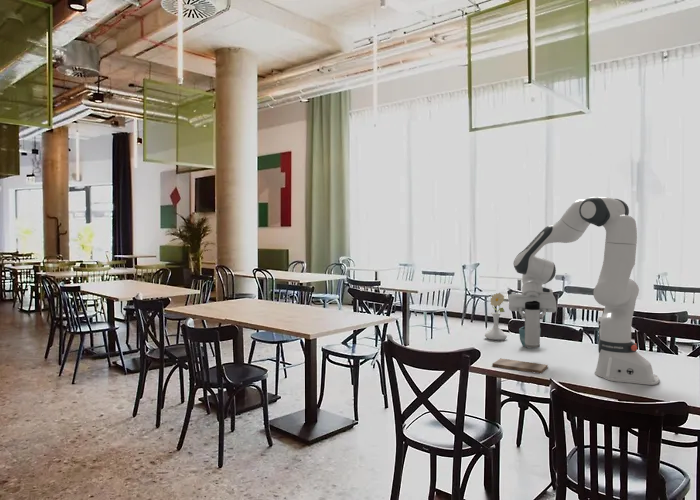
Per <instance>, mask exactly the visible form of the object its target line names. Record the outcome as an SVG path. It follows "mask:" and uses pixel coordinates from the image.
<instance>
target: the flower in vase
mask: <svg viewBox="0 0 700 500" xmlns="http://www.w3.org/2000/svg"><path fill="white" fill-rule="evenodd" d="M504 301H505V295H504V294H502V293H500V292H495V293H494V294H493V295H492V296H491V297H490V301H489V302H490V305H491V306H492V308H493V309H494V311H497V312H491V313H490V314H491V315H492V317H493V318H492V319H493V327H492V328H491V329H489V330H488V331H487V332H485V333H484V337H485V338H486V339H489V340H493V341H494V340H495V341H501V340H505V339H507V337H508V336H507V334H506V333H505V332H504V331H503V330H502V329H501V328H500V327H499V318H500V316H501V314H502V313H505V309H504V307H501V305H502V304H503V302H504ZM495 307H496V308H495ZM497 307H498V309H497Z"/></svg>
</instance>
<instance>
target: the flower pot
mask: <svg viewBox="0 0 700 500" xmlns="http://www.w3.org/2000/svg"><path fill="white" fill-rule="evenodd" d="M541 332H542V328H541V327H540V334H541ZM518 333H519V341H520V343H521V345H522V347H524V348H527V347H526V346H525V326H522V327H520V328H519V329H518Z"/></svg>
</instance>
